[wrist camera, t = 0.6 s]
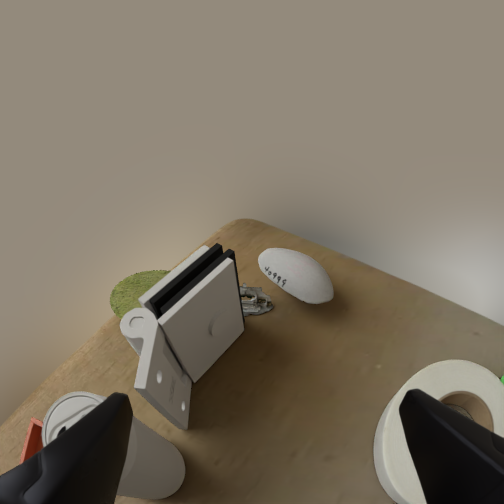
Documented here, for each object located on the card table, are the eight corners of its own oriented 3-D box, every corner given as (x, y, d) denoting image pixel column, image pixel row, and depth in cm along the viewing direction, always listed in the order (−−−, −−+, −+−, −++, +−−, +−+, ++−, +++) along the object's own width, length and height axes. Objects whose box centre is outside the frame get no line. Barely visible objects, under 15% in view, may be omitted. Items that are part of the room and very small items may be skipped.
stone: (249, 284, 35) (245, 252, 31) (279, 261, 37) (279, 229, 34) (314, 329, 29) (319, 299, 26) (343, 299, 32) (350, 267, 29)
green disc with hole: (94, 323, 28) (91, 310, 28) (138, 275, 38) (137, 262, 38) (186, 353, 27) (186, 339, 27) (215, 292, 37) (216, 280, 37)
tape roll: (418, 337, 24) (409, 352, 26) (348, 481, 15) (340, 483, 17) (527, 383, 16) (513, 395, 18) (489, 523, 8) (472, 525, 9)
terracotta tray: (80, 506, 14) (68, 504, 13) (28, 477, 15) (17, 473, 14) (92, 443, 20) (82, 438, 19) (42, 423, 21) (31, 416, 19)
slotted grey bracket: (217, 313, 32) (212, 296, 30) (222, 298, 34) (218, 280, 32) (271, 318, 31) (269, 300, 29) (274, 302, 33) (272, 284, 31)
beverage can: (109, 469, 18) (21, 430, 10) (147, 424, 22) (79, 366, 14) (161, 512, 15) (81, 509, 8) (202, 463, 19) (149, 431, 12)
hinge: (186, 433, 22) (142, 393, 15) (140, 406, 23) (87, 356, 17) (251, 320, 31) (241, 248, 24) (208, 305, 33) (188, 235, 26)
